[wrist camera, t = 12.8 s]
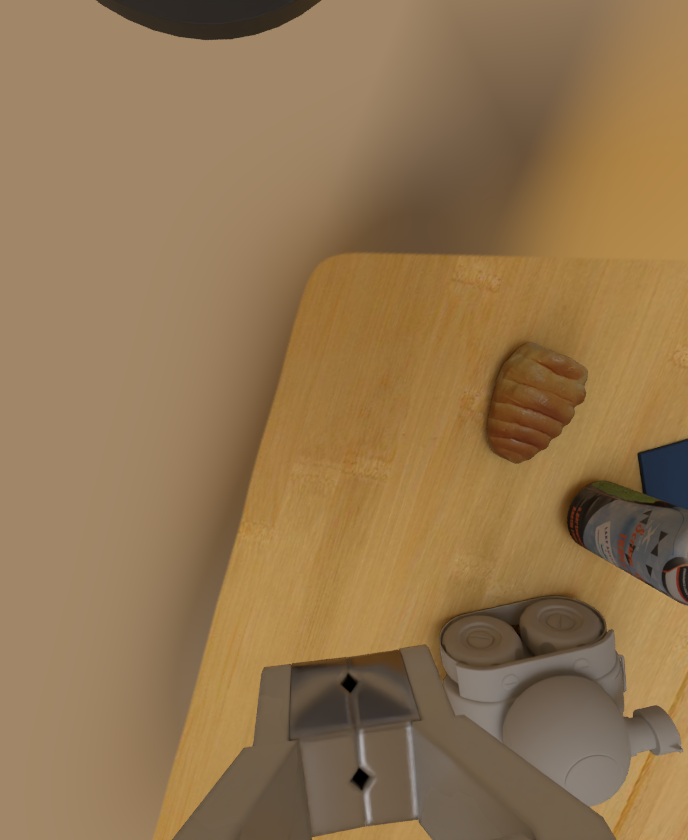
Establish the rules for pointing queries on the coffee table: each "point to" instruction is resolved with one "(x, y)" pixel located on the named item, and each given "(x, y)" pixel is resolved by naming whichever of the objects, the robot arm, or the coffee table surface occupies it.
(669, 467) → the book
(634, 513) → the beverage can
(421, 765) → the robot arm
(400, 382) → the coffee table surface
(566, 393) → the pastry
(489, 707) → the toy tank
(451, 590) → the coffee table surface
